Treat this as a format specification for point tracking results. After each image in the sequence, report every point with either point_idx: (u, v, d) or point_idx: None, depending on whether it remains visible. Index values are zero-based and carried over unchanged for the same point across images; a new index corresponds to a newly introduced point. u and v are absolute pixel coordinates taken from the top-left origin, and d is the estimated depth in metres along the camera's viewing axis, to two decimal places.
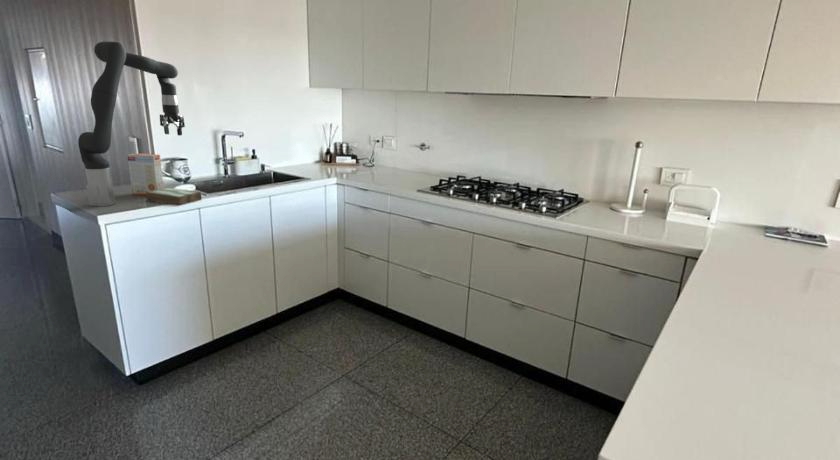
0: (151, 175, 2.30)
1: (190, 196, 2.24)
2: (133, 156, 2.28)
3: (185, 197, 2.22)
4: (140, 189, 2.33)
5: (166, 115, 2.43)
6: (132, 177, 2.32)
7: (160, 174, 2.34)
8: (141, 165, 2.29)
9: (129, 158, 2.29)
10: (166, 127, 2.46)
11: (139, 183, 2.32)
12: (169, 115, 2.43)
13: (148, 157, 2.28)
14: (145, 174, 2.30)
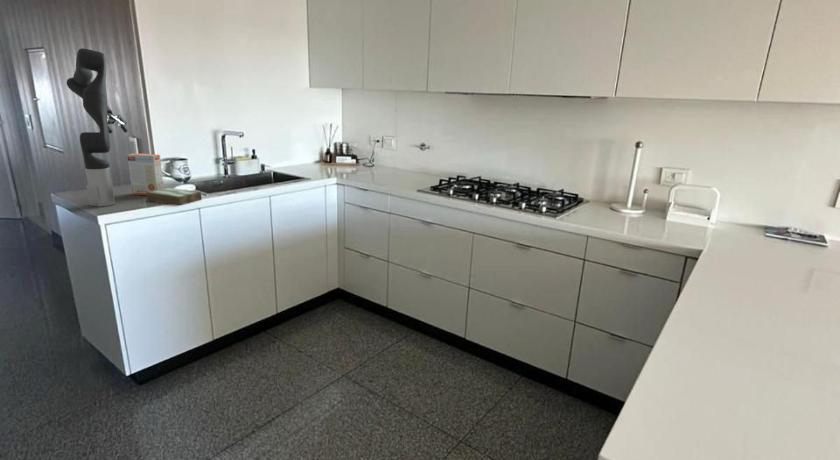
0: (151, 175, 2.30)
1: (190, 196, 2.24)
2: (133, 156, 2.28)
3: (185, 197, 2.22)
4: (140, 189, 2.33)
5: None
6: (132, 177, 2.32)
7: (160, 174, 2.34)
8: (141, 165, 2.29)
9: (129, 158, 2.29)
10: None
11: (139, 183, 2.32)
12: (107, 115, 2.35)
13: (148, 157, 2.28)
14: (145, 174, 2.30)
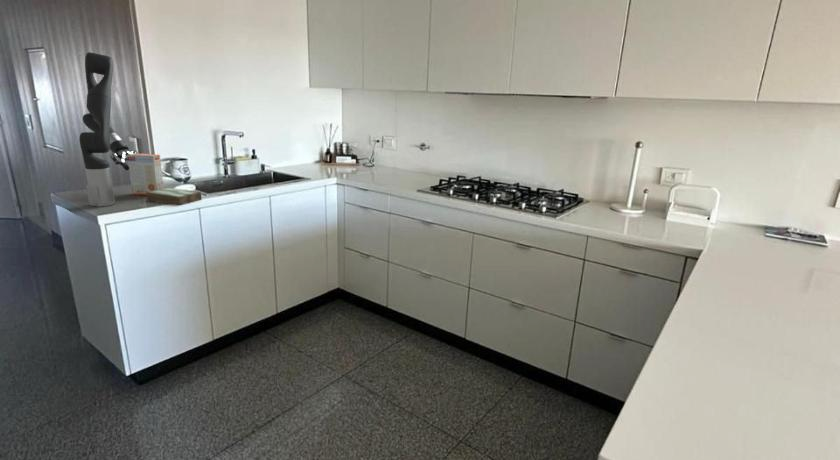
0: (151, 175, 2.30)
1: (190, 196, 2.24)
2: (133, 156, 2.28)
3: (185, 197, 2.22)
4: (140, 189, 2.33)
5: (120, 152, 2.32)
6: (132, 177, 2.32)
7: (160, 174, 2.34)
8: (141, 165, 2.29)
9: (129, 158, 2.29)
10: None
11: (139, 183, 2.32)
12: (123, 151, 2.34)
13: (148, 157, 2.28)
14: (145, 174, 2.30)
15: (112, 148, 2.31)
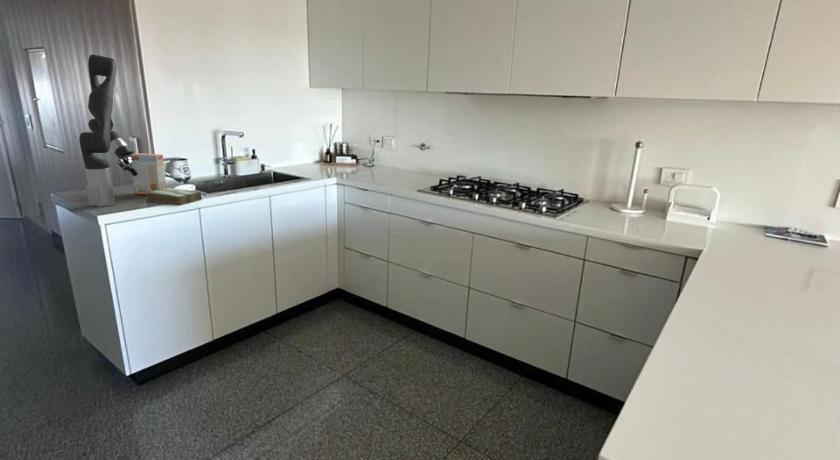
0: (154, 174, 2.30)
1: (190, 196, 2.24)
2: (136, 156, 2.29)
3: (185, 197, 2.22)
4: (142, 189, 2.33)
5: (125, 157, 2.32)
6: (135, 177, 2.32)
7: (163, 174, 2.34)
8: (144, 164, 2.30)
9: (132, 158, 2.30)
10: None
11: (141, 183, 2.32)
12: (129, 156, 2.34)
13: (151, 157, 2.28)
14: (148, 174, 2.31)
15: (118, 153, 2.31)
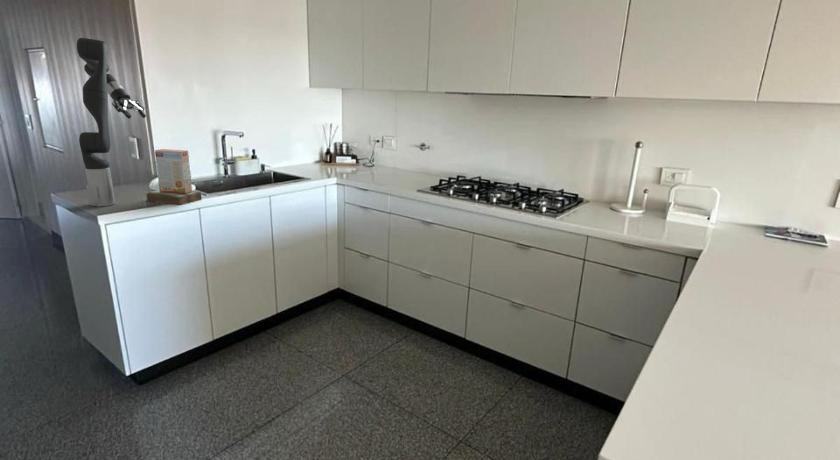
0: (179, 171, 2.20)
1: (190, 196, 2.24)
2: (161, 152, 2.19)
3: (185, 197, 2.22)
4: (167, 187, 2.23)
5: (122, 100, 2.29)
6: (159, 174, 2.22)
7: (188, 171, 2.24)
8: (169, 161, 2.20)
9: (157, 154, 2.20)
10: None
11: (166, 180, 2.23)
12: None
13: (176, 153, 2.18)
14: (173, 171, 2.21)
15: (114, 96, 2.28)
